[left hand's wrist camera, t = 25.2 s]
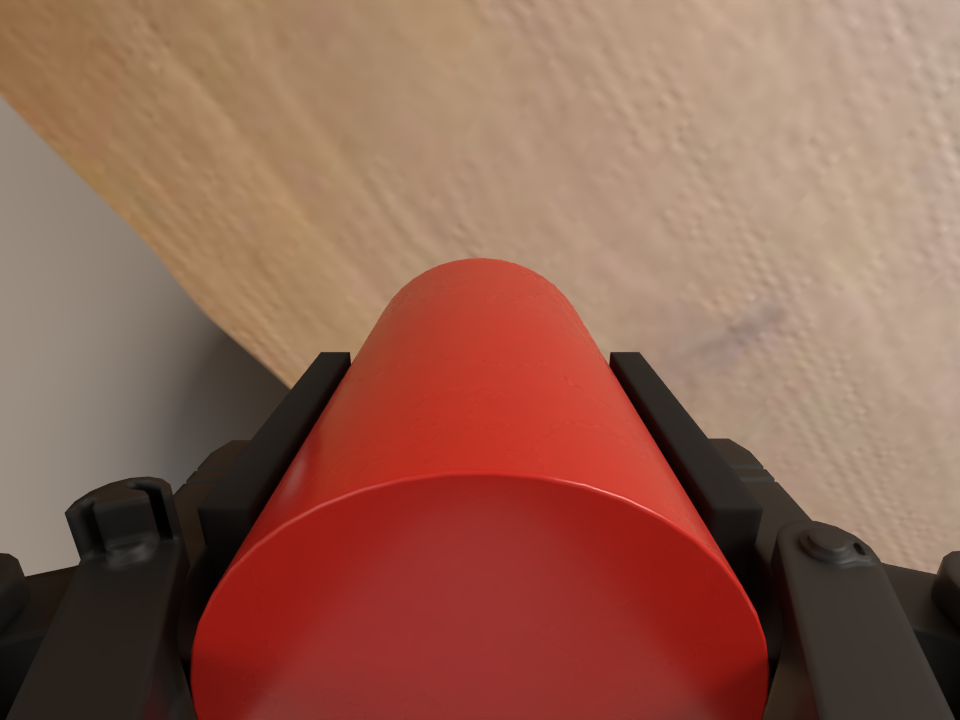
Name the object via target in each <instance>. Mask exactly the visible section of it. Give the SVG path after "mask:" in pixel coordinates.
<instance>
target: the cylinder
mask: <svg viewBox="0 0 960 720" xmlns="http://www.w3.org/2000/svg"><path fill="white" fill-rule="evenodd" d="M769 671H770V670H769V661H768V653H767V646H766V639H765V636H764V633H763V630H762V627H761V624H760V621H759V618H758V615H757V612H756V610H755V608H754V607H753V605H752V603H751V601H750V599H749V597H748V596H747V594H746V592H745V590H744V588H743V587H742V585H741V583H740V581H739V580H738V578H737V577H736V575H735V573H734V572H733V570H732V568H731V567H730V565H729V563H728V562H727V560H726V558H725V557H724V555H723V553H722V552H721V550H720V548H719V547H718V545H717V543H716V542H715V540H714V539H713V537H712V535H711V534H710V532H709V530H708V529H707V527H706V525H705V524H704V522H703V520H702V519H701V517H700V515H699V514H698V512H697V510H696V509H695V507H694V505H693V504H692V502H691V501H690V499H689V497H688V496H687V494H686V492H685V491H684V489H683V487H682V486H681V484H680V482H679V481H678V479H677V477H676V476H675V474H674V472H673V471H672V469H671V467H670V466H669V464H668V462H667V461H666V459H665V458H664V456H663V454H662V453H661V451H660V449H659V448H658V446H657V444H656V443H655V441H654V439H653V438H652V436H651V434H650V433H649V431H648V429H647V428H646V426H645V424H644V423H643V421H642V420H641V418H640V416H639V415H638V413H637V411H636V410H635V408H634V406H633V405H632V403H631V401H630V400H629V398H628V396H627V395H626V393H625V391H624V390H623V388H622V386H621V385H620V383H619V382H618V380H617V378H616V377H615V375H614V373H613V372H612V370H611V368H610V367H609V365H608V363H607V362H606V360H605V358H604V357H603V355H602V353H601V352H600V350H599V348H598V347H597V345H596V343H595V342H594V340H593V339H592V337H591V335H590V334H589V332H588V330H587V329H586V327H585V325H584V324H583V322H582V320H581V319H580V317H579V315H578V314H577V312H576V310H575V309H574V307H573V306H572V304H571V303H570V302H569V301H568V299H567V298H566V297H565V295H564V294H563V293H562V292H561V291H560V290H559V289H558V288H557V287H556V286H554V285H553V284H552V283H551V282H549V281H548V280H547V279H545V278H544V277H543V276H541V275H539V274H537V273H535V272H534V271H532V270H530V269H528V268H525V267H522V266H520V265H517V264H515V263H510V262H506V261H502V260H496V259H486V258H477V259H464V260H458V261H453V262H449V263H446V264H442V265H439V266H437V267H435V268H432V269H430V270H428V271H426V272H424V273H422V274H421V275H419V276H418V277H416V278H414V279H413V280H412V281H410V282H409V283H408V284H407V285H405V286H404V287H403V288H402V289H401V290H400V291H399V292H398V293H397V294H396V295H395V296H394V298H393V299H392V300H391V301H390V303H389V304H388V306H387V307H386V308H385V310H384V311H383V313H382V315H381V316H380V318H379V320H378V321H377V323H376V325H375V326H374V328H373V330H372V331H371V333H370V334H369V336H368V338H367V339H366V341H365V343H364V344H363V346H362V348H361V349H360V351H359V353H358V354H357V356H356V358H355V359H354V361H353V362H352V364H351V366H350V367H349V369H348V371H347V372H346V374H345V376H344V377H343V379H342V381H341V382H340V384H339V386H338V387H337V389H336V390H335V392H334V394H333V395H332V397H331V399H330V400H329V402H328V404H327V405H326V407H325V409H324V410H323V412H322V414H321V415H320V417H319V418H318V420H317V422H316V423H315V425H314V427H313V428H312V430H311V432H310V433H309V435H308V437H307V438H306V440H305V442H304V443H303V445H302V446H301V448H300V450H299V451H298V453H297V455H296V456H295V458H294V460H293V461H292V463H291V465H290V466H289V468H288V470H287V471H286V473H285V474H284V476H283V478H282V479H281V481H280V483H279V484H278V486H277V488H276V489H275V491H274V493H273V494H272V496H271V498H270V499H269V501H268V502H267V504H266V506H265V507H264V509H263V511H262V512H261V514H260V516H259V517H258V519H257V521H256V522H255V524H254V526H253V527H252V529H251V530H250V532H249V534H248V535H247V537H246V539H245V540H244V542H243V544H242V545H241V547H240V549H239V550H238V552H237V554H236V555H235V557H234V558H233V560H232V562H231V563H230V565H229V567H228V568H227V570H226V572H225V573H224V575H223V577H222V578H221V580H220V582H219V583H218V585H217V586H216V588H215V590H214V591H213V593H212V595H211V597H210V599H209V601H208V603H207V605H206V608H205V610H204V612H203V614H202V616H201V618H200V620H199V623H198V627H197V631H196V635H195V638H194V642H193V646H192V651H191V667H190V686H191V694H192V702H193V708H194V711H195V714H196V717H197V720H762V719H763V715H764V711H765V707H766V703H767V699H768V688H769Z"/></svg>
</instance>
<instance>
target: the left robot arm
mask: <svg viewBox="0 0 960 720" xmlns="http://www.w3.org/2000/svg"><path fill="white" fill-rule="evenodd" d="M350 366H351V359H350V352H321V353H320V354H319V355H318V357H317V358H316V359H315V360H314V362H313V363H312V364H311V365H310V367H309V368H308V369H307V371H306V372H305V373H304V374H303V376H302V377H301V378H300V379H299V381H298V382H297V383H296V384H295V386H294V387H293V388H292V389H291V391H290V392H289V393H288V395H287V396H286V397H285V398H284V399H283V401H282V402H281V403H280V404H279V406H278V407H277V408H276V409H275V411H274V412H273V413H272V414H271V416H270V417H269V418H268V420H267V421H266V422H265V423H264V425H263V426H262V427H261V428H260V430H259V431H258V432H257V433H256V435H255V436H254V437H253V438H252V440H232V441H230V442H229V443H227V444H225V445H224V446H222V447H221V448H219V449H217V450H215V451H214V452H212V453H211V454H210V455H209V456H208V457H207V458H206V459H205V460H204V462H203V463H202V464H201V465H200V466H199V467H198V470H197V471H195V472H194V473H193V474H192V475H191V476H190V477H189V478H188V479H187V482H186V484H183V485H182V486H181V487H180V488H179V490H178V491H177V492H176V493H175V494H174V495H173V493H172V489H171V486H170V484H169V483H167V482H166V481H164V480H163V479H160V478H154V477H137V478H128V479H124V480H121V481H117V482H113V483H109V484H107V485H105V486H102V487H100V488H98V489H95V490H93V491H91V492H89V493H87V494H86V495H84V496H83V497H81V498H80V499H78V500H76V501H75V502H74V503H73V504H72V505H71V506H70V507H69V508H68V510H67V511H66V512H65V515H66V518H67V521H68V524H69V527H70V530H71V533H72V536H73V539H74V542H75V544H76V547H77V550H78V553H79V556H80V559H81V561H80V563H79V565H77V566H73V567H69V568H64V569H59V570H55V571H50V572H45V573H40V574H36V575H31V576H26V577H25V576H24V573H23V571H22V568H21V566H20V563H19V561H18V559H16V558H15V557H13V556H12V555H10V554H4V553H0V720H197V717H196V714H195V711H194V708H193V702H192V694H191V686H190V667H191V651H192V646H193V642H194V638H195V635H196V631H197V627H198V623H199V620H200V618H201V616H202V614H203V612H204V610H205V608H206V605H207V603H208V601H209V599H210V597H211V595H212V593H213V591H214V590H215V588H216V586H217V585H218V583H219V582H220V580H221V578H222V577H223V575H224V573H225V572H226V570H227V568H228V567H229V565H230V563H231V562H232V560H233V558H234V557H235V555H236V554H237V552H238V550H239V549H240V547H241V545H242V544H243V542H244V540H245V539H246V537H247V535H248V534H249V532H250V530H251V529H252V527H253V526H254V524H255V522H256V521H257V519H258V517H259V516H260V514H261V512H262V511H263V509H264V507H265V506H266V504H267V502H268V501H269V499H270V498H271V496H272V494H273V493H274V491H275V489H276V488H277V486H278V484H279V483H280V481H281V479H282V478H283V476H284V474H285V473H286V471H287V470H288V468H289V466H290V465H291V463H292V461H293V460H294V458H295V456H296V455H297V453H298V451H299V450H300V448H301V446H302V445H303V443H304V442H305V440H306V438H307V437H308V435H309V433H310V432H311V430H312V428H313V427H314V425H315V423H316V422H317V420H318V418H319V417H320V415H321V414H322V412H323V410H324V409H325V407H326V405H327V404H328V402H329V400H330V399H331V397H332V395H333V394H334V392H335V390H336V389H337V387H338V386H339V384H340V382H341V381H342V379H343V377H344V376H345V374H346V372H347V371H348V369H349V367H350ZM609 367H610V368H611V370H612V372H613V373H614V375H615V377H616V378H617V380H618V382H619V383H620V385H621V386H622V388H623V390H624V391H625V393H626V395H627V396H628V398H629V400H630V401H631V403H632V405H633V406H634V408H635V410H636V411H637V413H638V415H639V416H640V418H641V420H642V421H643V423H644V424H645V426H646V428H647V429H648V431H649V433H650V434H651V436H652V438H653V439H654V441H655V443H656V444H657V446H658V448H659V449H660V451H661V453H662V454H663V456H664V458H665V459H666V461H667V462H668V464H669V466H670V467H671V469H672V471H673V472H674V474H675V476H676V477H677V479H678V481H679V482H680V484H681V486H682V487H683V489H684V491H685V492H686V494H687V496H688V497H689V499H690V501H691V502H692V504H693V505H694V507H695V509H696V510H697V512H698V514H699V515H700V517H701V519H702V520H703V522H704V524H705V525H706V527H707V529H708V530H709V532H710V534H711V535H712V537H713V539H714V540H715V542H716V543H717V545H718V547H719V548H720V550H721V552H722V553H723V555H724V557H725V558H726V560H727V562H728V563H729V565H730V567H731V568H732V570H733V572H734V573H735V575H736V577H737V578H738V580H739V581H740V583H741V585H742V587H743V588H744V590H745V592H746V594H747V596H748V597H749V599H750V601H751V603H752V605H753V607H754V608H755V610H756V612H757V615H758V618H759V621H760V624H761V627H762V630H763V633H764V636H765V639H766V646H767V653H768V661H769V670H770V671H769V688H768V699H767V703H766V707H765V711H764V715H763V719H762V720H960V551H952V552H951V553H949V554H948V555H946V556H945V557H943V560H942V562H941V565H940V567H939V570H938V572H937V575H936V574H931V573H926V572H922V571H917V570H912V569H907V568H903V567H898V566H893V565H888V564H885V563H881V562H880V559H879V558H878V557H877V555H876V554H875V553H874V552H873V550H872V549H871V548H870V547H869V546H868V545H867V544H865V543H864V542H863V541H861V540H860V539H859V538H857V537H856V536H854V535H852V534H850V533H848V532H846V531H844V530H842V529H840V528H838V527H835V526H832V525H828V524H825V523H821V522H818V521H812V520H811V519H810V518H809V517H808V516H807V514H806V513H805V512H804V511H803V510H802V509H801V508H800V507H799V506H798V504H797V503H796V502H795V501H794V500H793V499H792V498H791V497H790V496H789V494H788V493H787V492H786V491H785V490H784V489H783V488H782V487H781V486H780V484H779V483H778V482H775V481H774V478H773V477H772V476H771V474H770V473H769V472H768V471H767V470H766V469H763V466H762V465H761V463H760V462H759V461H758V460H757V459H756V458H755V457H754V456H753V455H752V453H751V452H750V451H748V450H746V449H745V448H743V447H742V446H740V445H738V444H737V443H735V442H733V441H732V440H730V439H708V438H707V437H706V435H705V434H704V433H703V432H702V430H701V429H700V428H699V427H698V425H697V424H696V423H695V422H694V420H693V419H692V418H691V417H690V415H689V414H688V413H687V412H686V410H685V409H684V408H683V406H682V405H681V404H680V403H679V401H678V400H677V399H676V398H675V396H674V395H673V394H672V393H671V391H670V390H669V389H668V388H667V386H666V385H665V384H664V383H663V381H662V380H661V379H660V378H659V376H658V375H657V374H656V373H655V371H654V370H653V369H652V368H651V366H650V365H649V364H648V363H647V361H646V360H645V359H644V357H643V356H642V355H641V354H640V352H611V353H610V363H609Z"/></svg>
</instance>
